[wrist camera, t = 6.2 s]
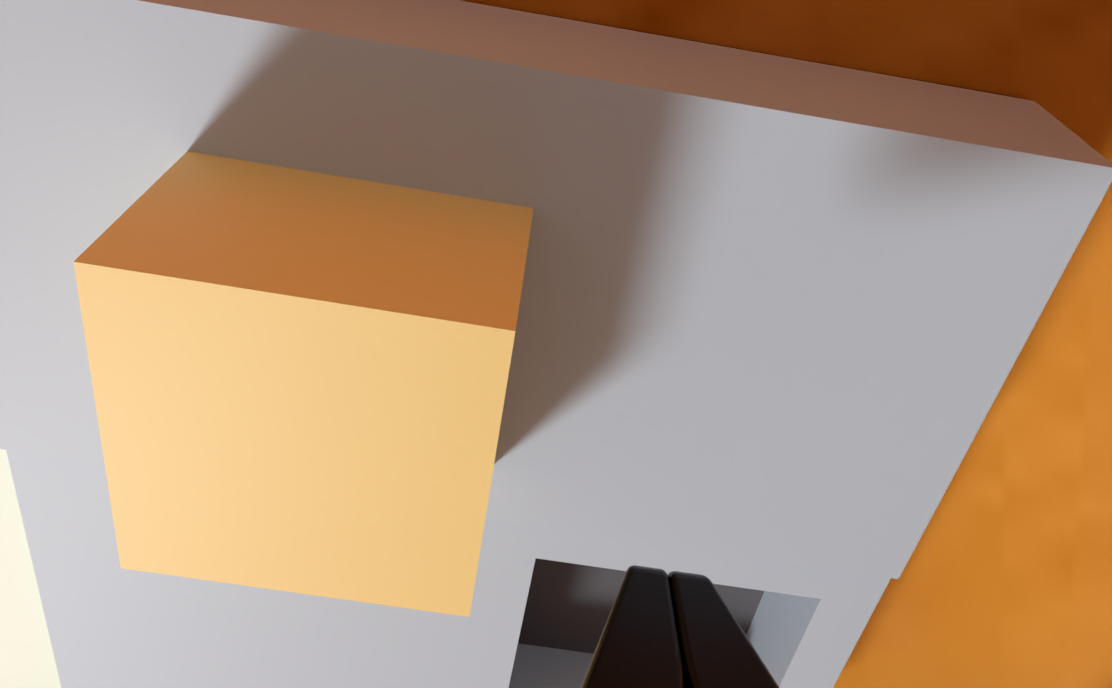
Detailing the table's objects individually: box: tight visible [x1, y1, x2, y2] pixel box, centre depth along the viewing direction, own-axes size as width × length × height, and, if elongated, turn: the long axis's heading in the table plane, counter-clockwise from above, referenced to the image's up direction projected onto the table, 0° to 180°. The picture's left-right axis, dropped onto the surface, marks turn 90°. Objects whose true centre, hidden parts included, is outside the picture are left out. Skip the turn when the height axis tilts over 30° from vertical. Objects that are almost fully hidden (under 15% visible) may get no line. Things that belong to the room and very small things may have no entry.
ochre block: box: [74, 151, 533, 617], centre depth 12 cm, size 4×4×3 cm
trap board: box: [0, 0, 1112, 688], centre depth 16 cm, size 21×15×3 cm
